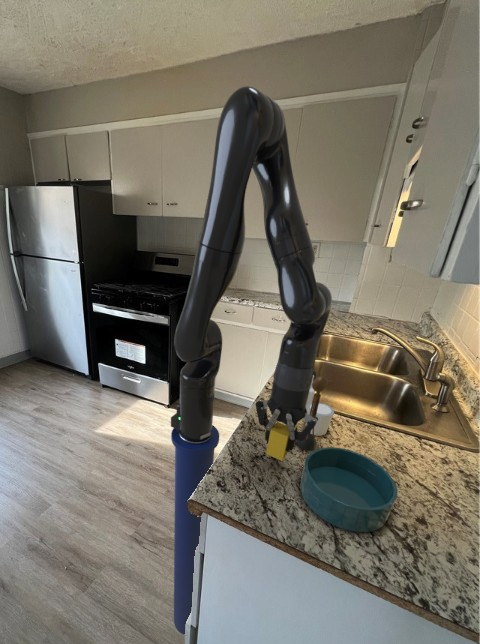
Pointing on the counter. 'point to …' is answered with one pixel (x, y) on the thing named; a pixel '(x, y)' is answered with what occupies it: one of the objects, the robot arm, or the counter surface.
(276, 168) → the robot arm
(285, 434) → the sponge
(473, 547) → the counter surface
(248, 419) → the counter surface
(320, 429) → the white short cylinder
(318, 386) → the wooden tabletop sculpture
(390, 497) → the bowl
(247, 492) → the counter surface
